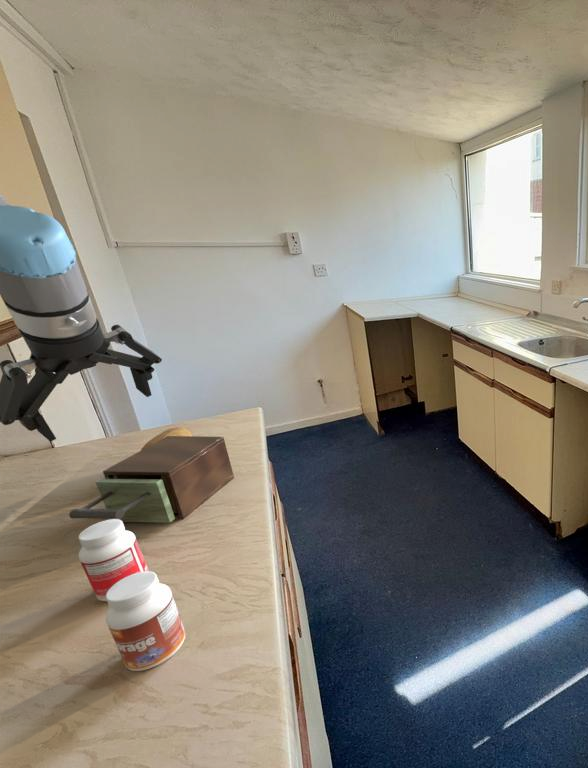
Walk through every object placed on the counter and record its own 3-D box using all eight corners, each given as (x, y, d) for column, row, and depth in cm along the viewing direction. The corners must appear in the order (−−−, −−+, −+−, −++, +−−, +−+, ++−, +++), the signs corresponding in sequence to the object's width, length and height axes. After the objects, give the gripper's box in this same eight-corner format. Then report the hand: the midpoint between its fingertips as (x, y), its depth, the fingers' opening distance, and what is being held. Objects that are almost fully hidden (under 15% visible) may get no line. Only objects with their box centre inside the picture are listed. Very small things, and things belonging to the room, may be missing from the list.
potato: (208, 446, 105) (200, 419, 102) (185, 474, 92) (176, 443, 90) (163, 452, 102) (154, 424, 99) (134, 481, 90) (122, 450, 87)
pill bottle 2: (112, 675, 49) (80, 608, 46) (149, 630, 55) (124, 567, 51) (165, 671, 50) (138, 604, 46) (197, 626, 56) (175, 564, 52)
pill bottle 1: (117, 573, 65) (94, 517, 61) (159, 569, 65) (139, 513, 62) (85, 605, 59) (57, 546, 55) (132, 600, 60) (107, 541, 56)
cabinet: (183, 519, 77) (168, 472, 74) (120, 518, 78) (102, 471, 74) (234, 477, 91) (223, 436, 88) (180, 477, 91) (167, 435, 88)
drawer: (137, 548, 69) (121, 506, 66) (73, 547, 69) (54, 505, 66) (220, 482, 88) (210, 447, 85) (170, 481, 88) (158, 446, 85)
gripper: (-60, 382, 45) (15, 473, 58) (176, 306, 63) (191, 388, 77) (-107, 343, 45) (-21, 442, 59) (142, 279, 64) (162, 365, 78)
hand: (99, 412), depth 68 cm, fingers open, 13 cm apart
